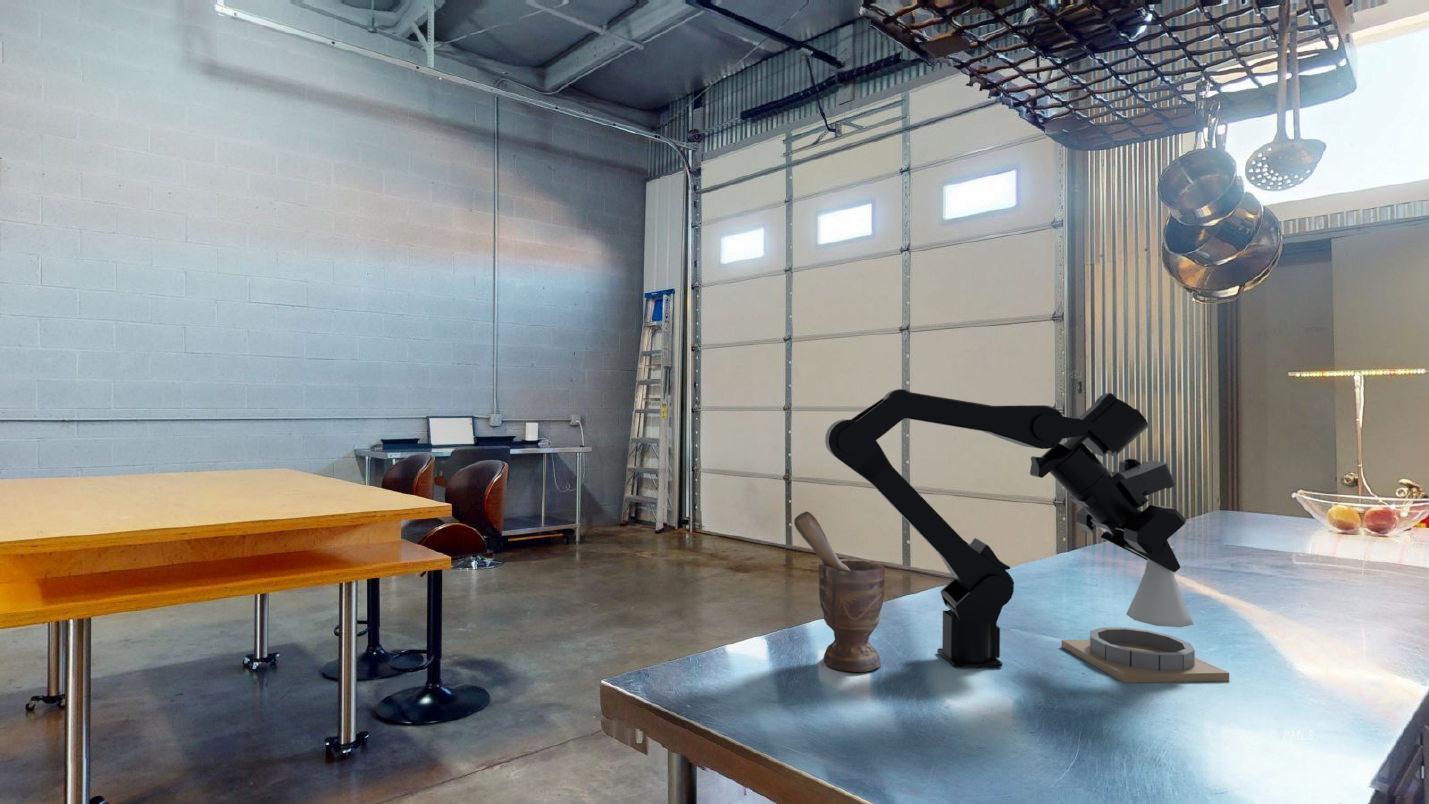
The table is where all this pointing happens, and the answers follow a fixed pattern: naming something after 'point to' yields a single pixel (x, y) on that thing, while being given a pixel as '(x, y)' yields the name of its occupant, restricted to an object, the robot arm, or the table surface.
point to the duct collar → (1143, 656)
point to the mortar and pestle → (846, 600)
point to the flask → (1159, 599)
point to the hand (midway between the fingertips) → (1170, 567)
